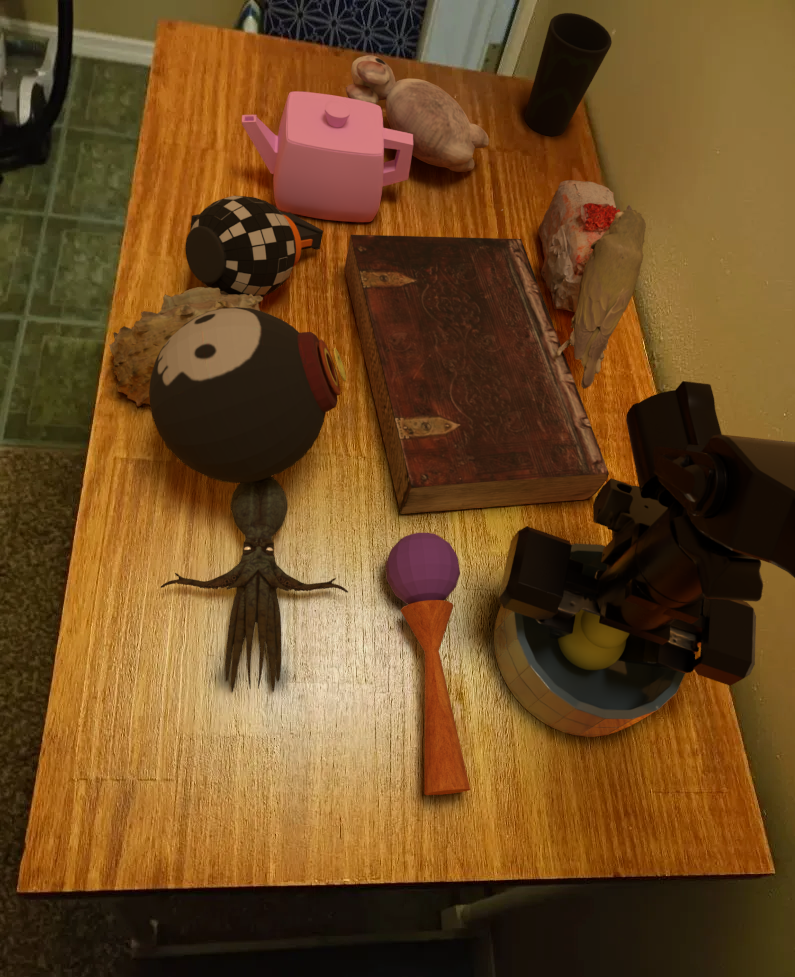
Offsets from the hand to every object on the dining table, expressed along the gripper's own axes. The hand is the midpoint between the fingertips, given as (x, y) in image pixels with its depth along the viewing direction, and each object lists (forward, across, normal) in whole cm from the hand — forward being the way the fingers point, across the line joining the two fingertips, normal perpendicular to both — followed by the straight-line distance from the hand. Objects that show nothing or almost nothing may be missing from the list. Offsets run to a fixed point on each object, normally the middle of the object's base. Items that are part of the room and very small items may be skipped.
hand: (583, 643), depth 67 cm
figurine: (+2, +27, +4) cm, 27 cm away
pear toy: (+1, 0, 0) cm, 1 cm away
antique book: (+2, +16, -24) cm, 29 cm away
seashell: (+2, +40, -14) cm, 43 cm away
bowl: (+2, 0, 0) cm, 2 cm away
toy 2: (0, +23, -58) cm, 62 cm away
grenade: (-5, +43, -22) cm, 48 cm away
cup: (+2, +15, -70) cm, 72 cm away
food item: (+2, +8, -43) cm, 44 cm away
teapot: (+2, +37, -43) cm, 57 cm away
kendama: (+2, +12, +6) cm, 13 cm away
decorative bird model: (-5, +6, -34) cm, 35 cm away
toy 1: (-5, +38, -4) cm, 39 cm away
